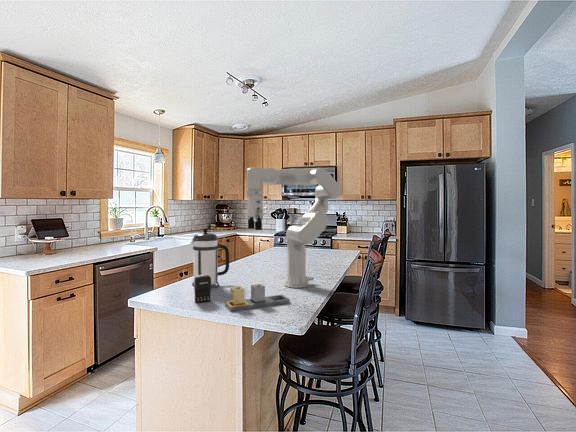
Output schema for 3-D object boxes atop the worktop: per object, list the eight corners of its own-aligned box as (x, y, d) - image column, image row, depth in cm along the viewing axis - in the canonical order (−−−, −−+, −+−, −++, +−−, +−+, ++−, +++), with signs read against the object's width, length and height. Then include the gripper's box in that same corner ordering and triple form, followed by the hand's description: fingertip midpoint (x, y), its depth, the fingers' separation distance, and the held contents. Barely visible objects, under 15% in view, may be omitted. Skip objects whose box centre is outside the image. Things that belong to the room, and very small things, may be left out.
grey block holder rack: (281, 298, 144) (281, 294, 144) (289, 303, 137) (289, 298, 137) (225, 305, 133) (225, 301, 133) (230, 311, 126) (230, 307, 126)
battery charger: (195, 304, 135) (195, 277, 135) (193, 301, 139) (193, 275, 138) (212, 301, 139) (212, 275, 138) (210, 299, 142) (209, 273, 142)
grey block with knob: (260, 302, 138) (260, 283, 138) (264, 305, 134) (264, 286, 134) (251, 303, 136) (251, 284, 136) (254, 306, 132) (254, 287, 132)
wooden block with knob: (240, 305, 134) (240, 285, 134) (244, 308, 130) (244, 288, 130) (230, 306, 132) (230, 287, 132) (233, 309, 128) (233, 289, 128)
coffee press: (212, 291, 156) (212, 229, 155) (184, 288, 161) (184, 228, 160) (229, 283, 172) (229, 227, 171) (204, 280, 177) (203, 226, 176)
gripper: (268, 193, 148) (268, 230, 149) (255, 194, 164) (255, 227, 164) (253, 192, 145) (253, 230, 145) (241, 194, 160) (241, 228, 161)
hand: (254, 229), depth 155 cm, fingers open, 9 cm apart
